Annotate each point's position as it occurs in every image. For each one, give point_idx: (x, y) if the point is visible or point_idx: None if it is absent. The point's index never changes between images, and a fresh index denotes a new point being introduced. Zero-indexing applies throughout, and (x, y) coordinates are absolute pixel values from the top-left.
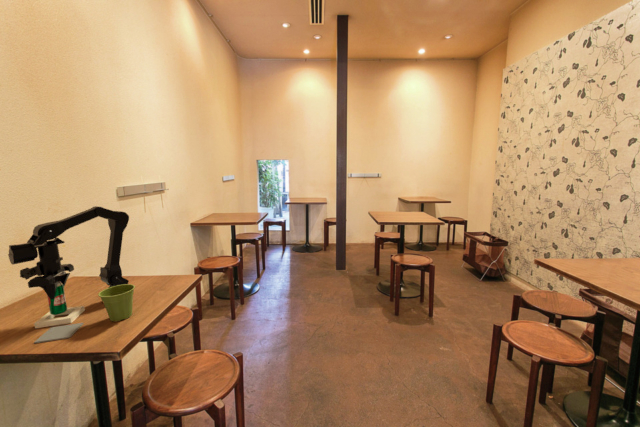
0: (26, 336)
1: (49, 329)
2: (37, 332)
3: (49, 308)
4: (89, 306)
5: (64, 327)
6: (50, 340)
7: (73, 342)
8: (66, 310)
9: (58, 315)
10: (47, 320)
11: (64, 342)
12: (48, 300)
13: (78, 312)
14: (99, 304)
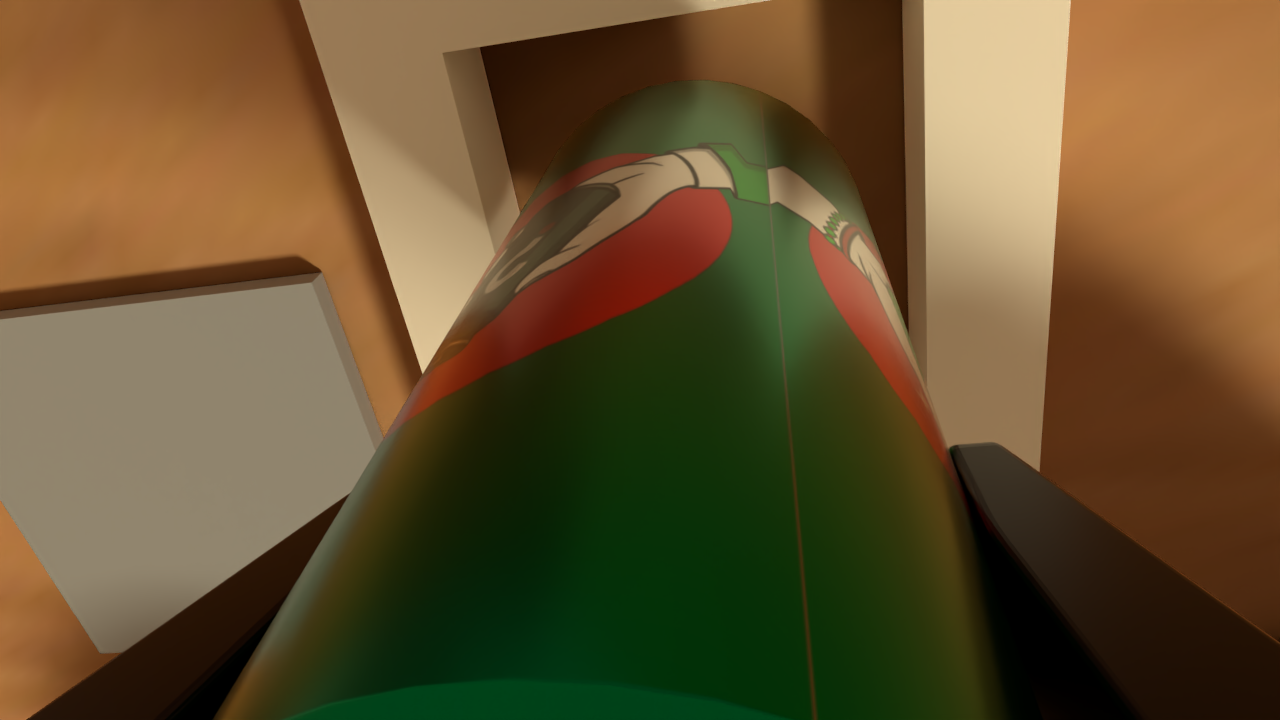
0: (45, 9)
1: (242, 303)
2: (192, 112)
3: (545, 178)
4: (1194, 416)
5: (311, 483)
6: (7, 486)
7: (41, 705)
8: (924, 222)
9: (903, 24)
10: (404, 163)
11: (22, 633)
12: (452, 325)
13: None
14: (1211, 542)
